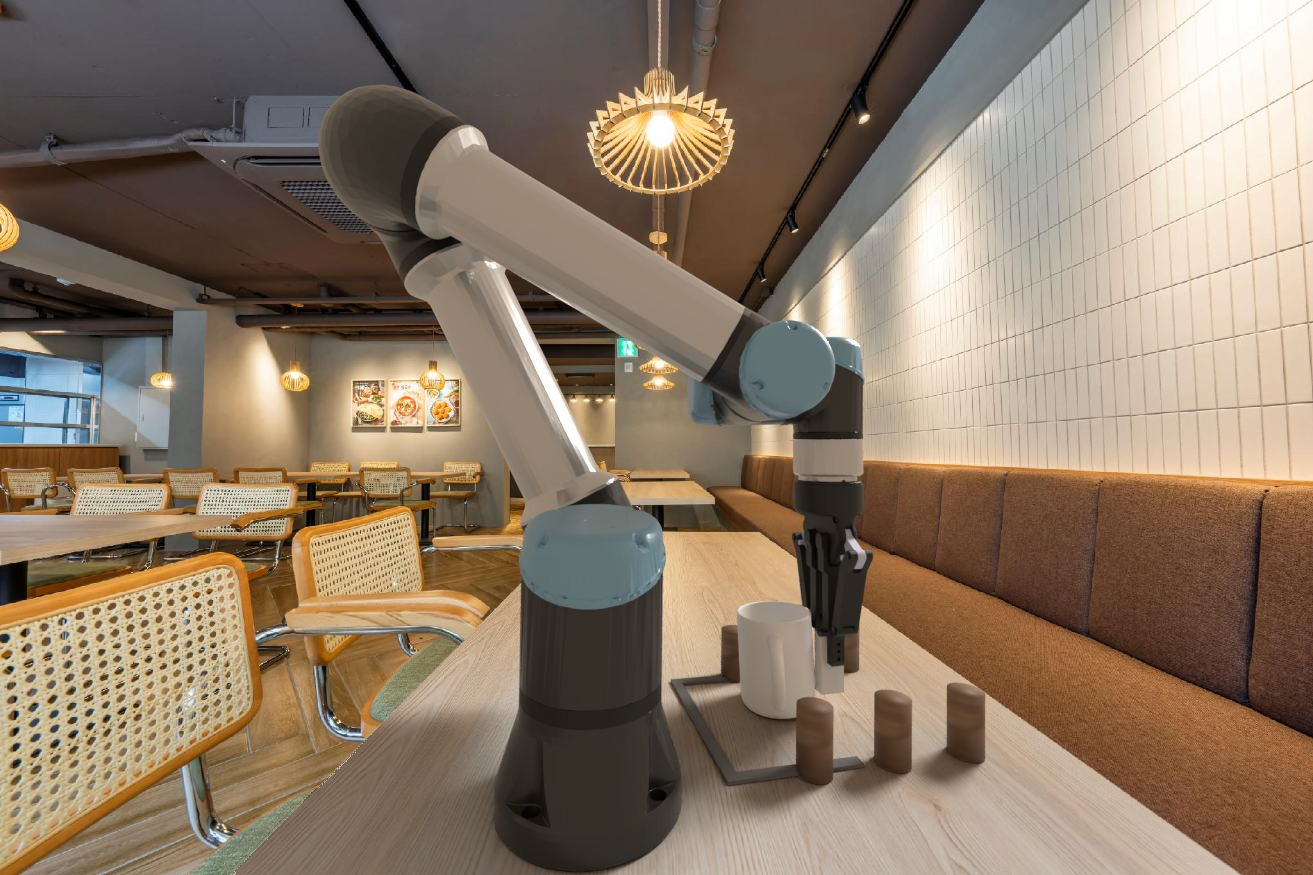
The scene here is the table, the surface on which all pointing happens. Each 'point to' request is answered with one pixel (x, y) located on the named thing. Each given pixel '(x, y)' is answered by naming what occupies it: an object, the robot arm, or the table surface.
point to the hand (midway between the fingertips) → (829, 690)
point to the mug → (775, 657)
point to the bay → (719, 754)
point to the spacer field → (888, 720)
